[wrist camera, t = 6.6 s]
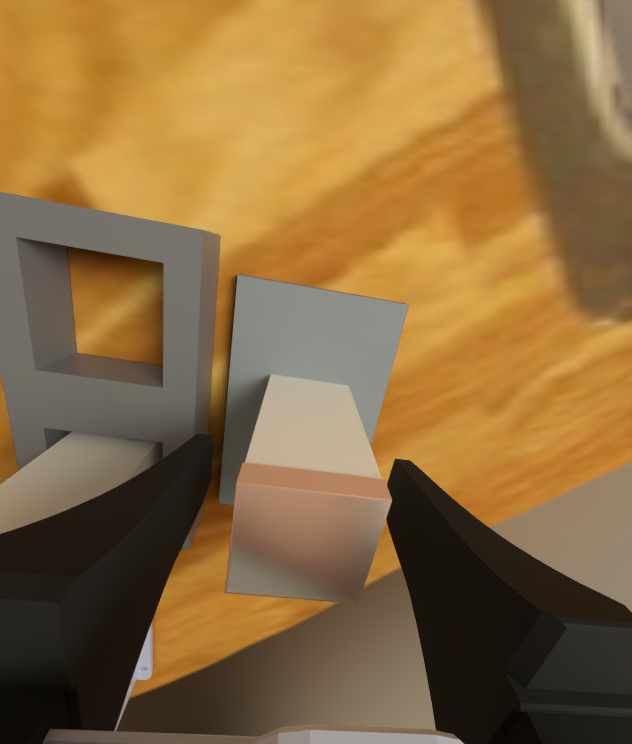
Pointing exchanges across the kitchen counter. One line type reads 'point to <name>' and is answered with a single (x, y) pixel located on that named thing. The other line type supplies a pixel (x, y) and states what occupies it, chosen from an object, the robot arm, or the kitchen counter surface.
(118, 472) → the plug
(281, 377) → the plug
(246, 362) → the mat
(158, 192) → the kitchen counter surface
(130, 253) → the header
